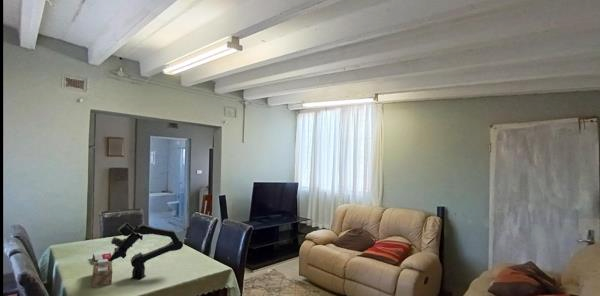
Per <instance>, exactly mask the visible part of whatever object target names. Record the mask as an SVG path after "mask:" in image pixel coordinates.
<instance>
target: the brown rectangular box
mask: <svg viewBox="0 0 600 296" xmlns="http://www.w3.org/2000/svg"><path fill="white" fill-rule="evenodd" d="M103 267H108V270H107V271H99V272H98V268H103ZM112 282H113V260H112V261H109V260H108V265H100V266H98V262H94V261H93V266H92V280H91V288H97V287H104V286H110V285H113V284H112Z"/></svg>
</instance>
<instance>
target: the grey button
mask: <svg viewBox="0 0 600 296" xmlns="http://www.w3.org/2000/svg"><path fill="white" fill-rule="evenodd" d="M100 265H108V259H102V260H98V266H100Z"/></svg>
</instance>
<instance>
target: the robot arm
mask: <svg viewBox="0 0 600 296" xmlns="http://www.w3.org/2000/svg"><path fill="white" fill-rule="evenodd" d="M117 231H118V232H119V233H120V234H121V235H122V236H124V237H126V238H123V239H121V238H118V237H116V236H115V237H114V236H113V237H112V239H111V241H110V244H111V245H114V246H115V247H114V252H113V253H112V254H111V257H110V259H109V261H112V262H113V261H114V260H117V259H119V258H122V259H125V258H126V257H127V252H128V250H129V249H130V248H133V245H134V244H136V242H138V240H140V241H143V239H144V238H143V236H144V235H145V236H146V235H155V236H163V237H168V238H170V239H171V241H170V242H169V243H167V245H164V246H162V247H158V248H157V249H154V250H152V251H149V252H147V253H142V252H138V253H137V254H134V255H133V256H132V257H131V258H130V265H131V267H132V273H131V277H130V279H133V280H142V279H144V278H145V277H147V274H146V275H145V273H146V272H145V270H146V266H145V263H146V262H147V261H149V260H150V261H151V260H152V259H154V258H157V257H159V256H162V255H164V254H166V253H170V252H175V251H178V250H181V249H183V246H184V243H183V241H182V240H181V239H180V238H178V235H176V232H175V231H174V230H169V229H164V228H158V227H153V226H150V225H148V224H146V223H140V224H138V225H136V226H131V224H129V222H125V223H124V224H122V225H120V227H119V228H118V229H117Z"/></svg>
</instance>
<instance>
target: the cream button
mask: <svg viewBox="0 0 600 296" xmlns="http://www.w3.org/2000/svg"><path fill="white" fill-rule="evenodd" d="M107 270H108V267H103V268H98V272H99V271H107Z"/></svg>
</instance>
